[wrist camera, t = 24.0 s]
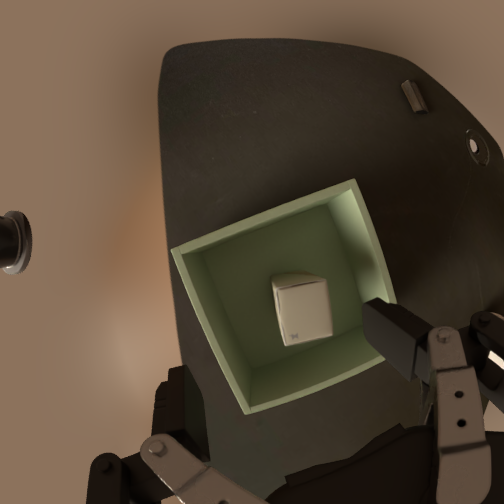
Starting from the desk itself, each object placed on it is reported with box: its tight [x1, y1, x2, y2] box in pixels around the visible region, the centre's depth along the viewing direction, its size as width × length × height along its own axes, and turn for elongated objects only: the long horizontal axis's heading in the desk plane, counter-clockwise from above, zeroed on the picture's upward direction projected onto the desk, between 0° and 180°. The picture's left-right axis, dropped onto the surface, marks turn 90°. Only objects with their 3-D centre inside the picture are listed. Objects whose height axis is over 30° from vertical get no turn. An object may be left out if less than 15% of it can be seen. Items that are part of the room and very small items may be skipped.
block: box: [401, 80, 429, 114], centre depth 31 cm, size 4×6×2 cm, turn 12°
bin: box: [171, 178, 397, 415], centre depth 28 cm, size 18×18×10 cm
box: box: [270, 270, 333, 346], centre depth 26 cm, size 5×4×11 cm
